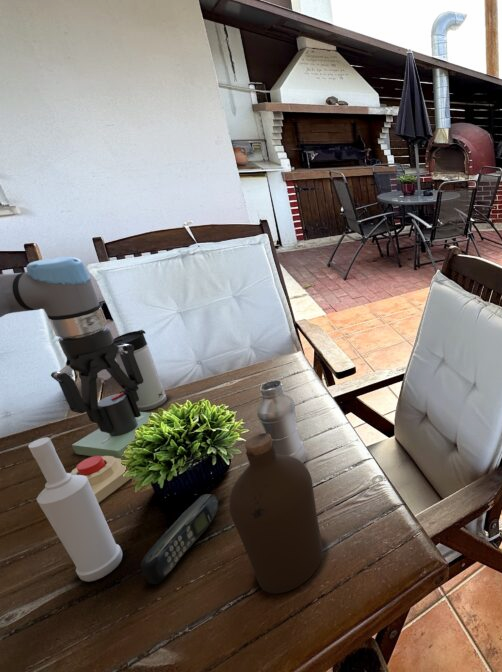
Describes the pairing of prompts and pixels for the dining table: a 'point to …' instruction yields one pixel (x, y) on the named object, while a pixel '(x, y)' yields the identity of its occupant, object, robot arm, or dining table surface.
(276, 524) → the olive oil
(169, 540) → the mobile phone
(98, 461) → the power button
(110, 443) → the control panel
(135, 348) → the travel mug
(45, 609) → the dining table surface
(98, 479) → the button block
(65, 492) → the bottle
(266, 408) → the plastic bottle
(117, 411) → the timer dial
